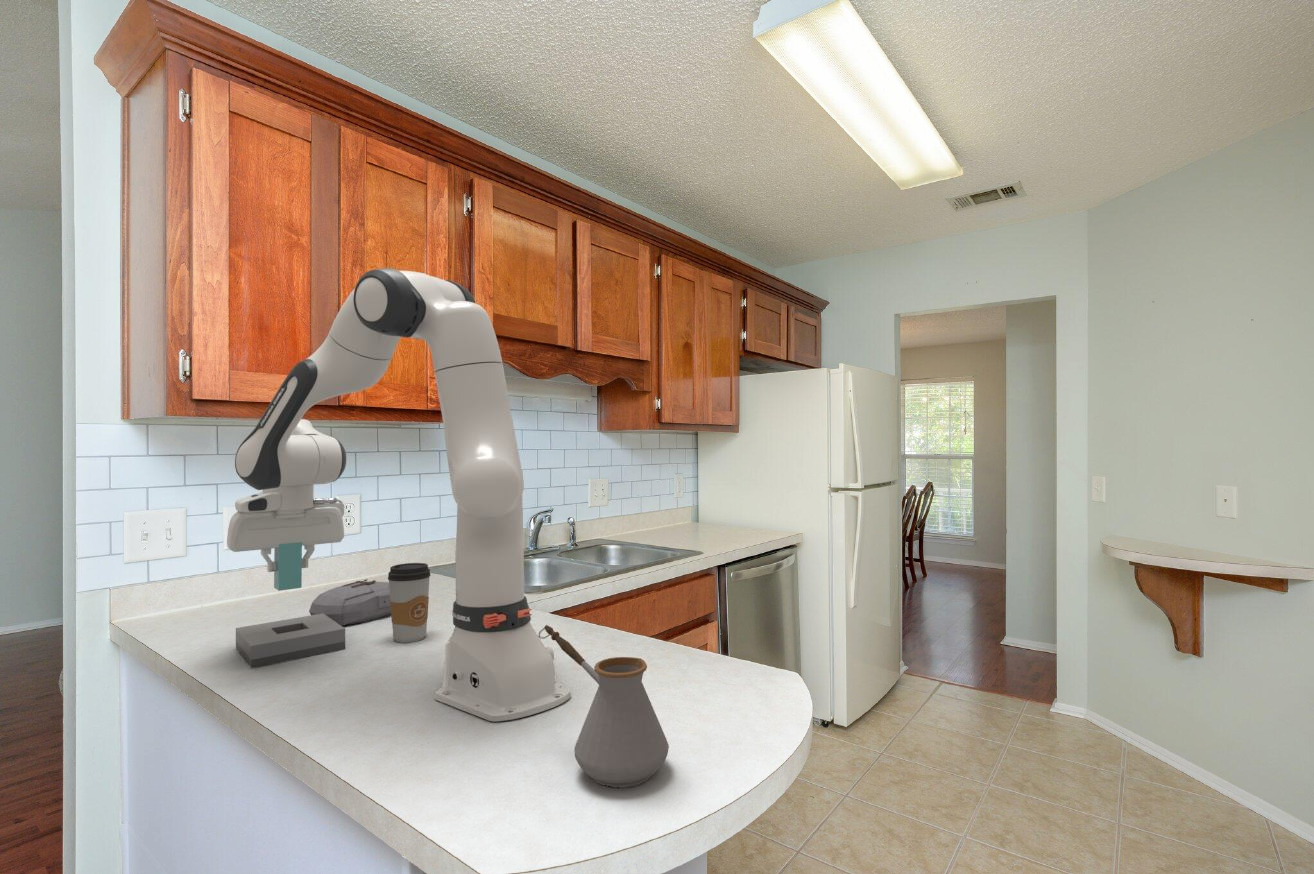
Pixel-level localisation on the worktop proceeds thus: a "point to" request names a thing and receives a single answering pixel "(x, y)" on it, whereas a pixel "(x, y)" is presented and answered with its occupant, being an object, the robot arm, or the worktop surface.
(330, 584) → the worktop surface
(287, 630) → the socket
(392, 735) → the worktop surface
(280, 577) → the plug
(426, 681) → the worktop surface
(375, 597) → the small grey backpack
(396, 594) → the coffee cup
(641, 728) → the coffee pot
